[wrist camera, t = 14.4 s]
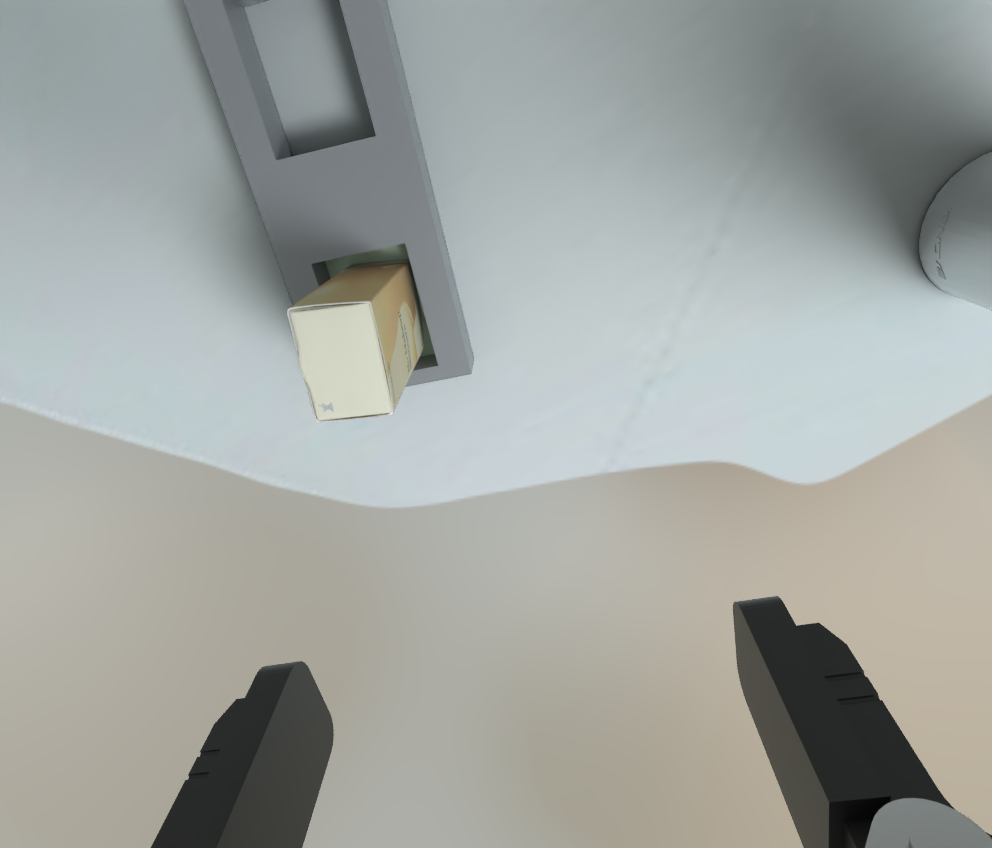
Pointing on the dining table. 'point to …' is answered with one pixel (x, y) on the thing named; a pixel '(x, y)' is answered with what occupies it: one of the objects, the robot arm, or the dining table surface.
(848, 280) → the dining table surface
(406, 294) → the skincare box
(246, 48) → the panel
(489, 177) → the dining table surface
